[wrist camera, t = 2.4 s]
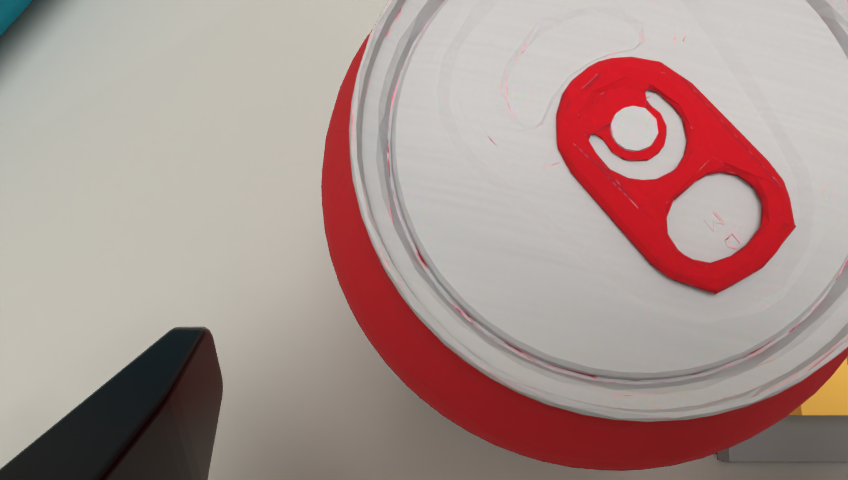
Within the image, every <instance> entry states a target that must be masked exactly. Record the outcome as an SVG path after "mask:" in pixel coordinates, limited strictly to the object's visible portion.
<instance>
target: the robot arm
mask: <svg viewBox="0 0 848 480" xmlns="http://www.w3.org/2000/svg"><path fill="white" fill-rule="evenodd" d="M222 392H223V382H222V375H221V370H220V366H219V362H218V357H217V353H216V349H215V344H214V340H213V336H212V334H211V332H210V330H209V329H207V328H206V327H176V328H173V329H172V330H170V331H169V332H167V333H166V334H165V335H164V336H163V337H161V338H160V339H159V340H158V341H156V342H155V343H154V344H153V345H152V346H150V347H149V348H148V349H147V350H145V351H144V352H143V353H142V354H141V355H139V356H138V357H137V358H136V359H134V360H133V361H132V362H131V363H130V364H128V365H127V366H126V367H125V368H123V369H122V370H121V371H120V372H119V373H117V374H116V375H115V376H114V377H112V378H111V379H110V380H109V381H108V382H106V383H105V384H104V385H103V386H101V387H100V388H99V389H98V390H97V391H95V392H94V393H93V394H92V395H90V396H89V397H88V398H87V399H85V400H84V401H83V402H82V403H81V404H79V405H78V406H77V407H76V408H74V409H73V410H72V411H71V412H70V413H68V414H67V415H66V416H65V417H63V418H62V419H61V420H60V421H59V422H57V423H56V424H55V425H54V426H52V427H51V428H50V429H49V430H48V431H46V432H45V433H44V434H43V435H41V436H40V437H39V438H38V439H37V440H35V441H34V442H33V443H32V444H30V445H29V446H28V447H27V448H26V449H24V450H23V451H22V452H21V453H19V454H18V455H17V456H16V457H15V458H13V459H12V460H11V461H10V462H8V463H7V464H6V465H5V466H4V467H2V468H1V469H0V480H207V479H208V473H209V468H210V462H211V456H212V451H213V445H214V440H215V434H216V428H217V423H218V417H219V412H220V406H221V400H222Z"/></svg>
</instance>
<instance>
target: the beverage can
mask: <svg viewBox="0 0 848 480" xmlns="http://www.w3.org/2000/svg"><path fill="white" fill-rule="evenodd" d="M321 187H322V207H323V217H324V226H325V233H326V238H327V242H328V247H329V252H330V256H331V260H332V263H333V266H334V269H335V272H336V275H337V278H338V281H339V284H340V286H341V288H342V291H343V293H344V295H345V297H346V300H347V302H348V304H349V306H350V309H351V310H352V312H353V314H354V316H355V318H356V320H357V322H358V324H359V325H360V327H361V328H362V330H363V332H364V333H365V335H366V336H367V338H368V339H369V341H370V342H371V344H372V345H373V346H374V348H375V349H376V350H377V352H378V353H379V354H380V356H381V357H382V358H383V360H384V361H385V362H386V364H387V365H388V366H389V367H390V368H391V369H392V370H393V371H394V372H395V373H396V374H397V376H398V377H399V378H400V379H401V380H402V381H403V382H404V383H405V384H406V385H407V386H408V387H409V388H410V389H411V390H412V391H414V392H415V393H416V394H417V395H418V396H419V397H420V398H421V399H423V400H424V401H425V402H426V403H428V404H429V405H430V406H431V407H433V408H434V409H435V410H437V411H438V412H439V413H440V414H442V415H443V416H444V417H446V418H448V419H449V420H451V421H452V422H454V423H456V424H457V425H459V426H460V427H462V428H464V429H465V430H467V431H468V432H470V433H472V434H474V435H476V436H478V437H480V438H482V439H484V440H486V441H488V442H490V443H492V444H494V445H496V446H499V447H501V448H504V449H507V450H509V451H512V452H515V453H518V454H520V455H523V456H526V457H530V458H533V459H536V460H540V461H543V462H548V463H553V464H558V465H563V466H568V467H574V468H584V469H595V470H617V471H625V470H642V469H650V468H657V467H665V466H672V465H676V464H680V463H684V462H688V461H692V460H697V459H701V458H704V457H706V456H709V455H712V454H715V453H717V452H720V451H723V450H725V449H728V448H730V447H733V446H735V445H737V444H739V443H741V442H743V441H745V440H748V439H750V438H752V437H754V436H755V435H757V434H759V433H760V432H762V431H764V430H766V429H767V428H769V427H771V426H772V425H774V424H776V423H777V422H779V421H780V420H782V419H783V418H785V417H787V416H788V415H789V414H790V413H791V412H793V411H794V410H795V409H796V408H798V407H799V406H800V405H801V404H803V403H804V402H805V401H806V400H808V399H809V398H810V397H811V396H813V395H814V394H815V393H816V392H817V391H818V390H819V389H820V388H821V387H822V386H823V385H824V384H825V383H826V382H827V381H828V380H829V379H830V378H831V376H832V375H833V374H834V373H835V372H836V370H837V369H838V368H839V366H840V365H841V364H842V363H843V361H844V360H845V359H846V358H847V356H848V0H388V2H387V4H386V6H385V8H384V10H383V11H382V13H381V15H380V17H379V19H378V21H377V22H376V24H375V26H374V28H373V29H372V31H371V32H370V34H369V35H368V36H367V38H366V39H365V41H364V42H363V44H362V45H361V47H360V49H359V50H358V52H357V54H356V55H355V57H354V59H353V61H352V63H351V65H350V67H349V69H348V71H347V74H346V76H345V78H344V80H343V83H342V85H341V87H340V90H339V93H338V97H337V100H336V103H335V107H334V110H333V113H332V117H331V120H330V124H329V128H328V132H327V136H326V142H325V151H324V160H323V168H322V186H321Z"/></svg>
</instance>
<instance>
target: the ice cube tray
mask: <svg viewBox="0 0 848 480" xmlns="http://www.w3.org/2000/svg"><path fill="white" fill-rule="evenodd" d="M32 1H33V0H0V36H1V35H2V34H3V33H4V32H5V31H6V30H7V29H8V27H9V26H10V25H11V24H12V23H13V22H14V21H15V20H16V19H17V18H18V16H19V15H20V14H21V13H22V12H23V11H24V10H25V9H26V8H27V6H28V5H29V4H30V3H31V2H32Z"/></svg>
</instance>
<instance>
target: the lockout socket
mask: <svg viewBox="0 0 848 480" xmlns="http://www.w3.org/2000/svg"><path fill="white" fill-rule="evenodd" d="M717 459H719V460H724V461H729V462H848V356H847V358H846V359H845V360H844V361H843V363H842V364H841V365H840V366H839V368H838V369H837V370H836V372H835V373H834V374H833V375H832V376H831V378H830V379H829V380H828V381H827V382H826V383H825V384H824V385H823V386H822V387H821V388H820V389H819V390H818V391H817V392H816V393H815V394H814V395H813V396H811V397H810V398H809V399H808V400H806V401H805V402H804V403H803V404H801V405H800V406H799V407H798V408H796V409H795V410H794V411H793V412H791V413H790V414H789V415H788V416H787V417H785V418H783V419H782V420H780V421H779V422H777V423H776V424H774V425H772V426H771V427H769V428H767V429H766V430H764V431H762V432H760V433H759V434H757V435H755V436H754V437H752V438H750V439H748V440H745V441H743V442H741V443H739V444H737V445H735V446H733V447H730V448H728V449H725V450H723V451H720V452H717Z"/></svg>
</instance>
